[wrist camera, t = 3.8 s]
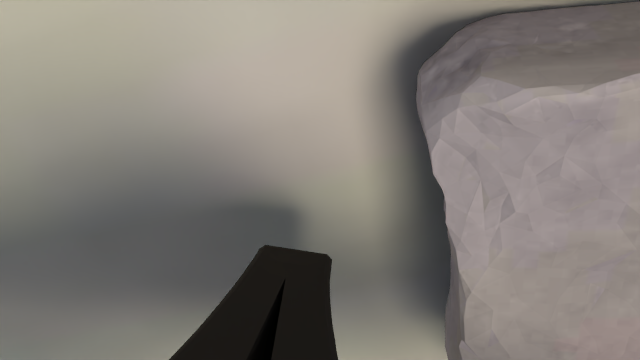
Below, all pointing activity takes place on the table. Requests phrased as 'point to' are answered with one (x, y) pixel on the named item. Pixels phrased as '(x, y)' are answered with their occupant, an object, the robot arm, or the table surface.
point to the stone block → (540, 182)
